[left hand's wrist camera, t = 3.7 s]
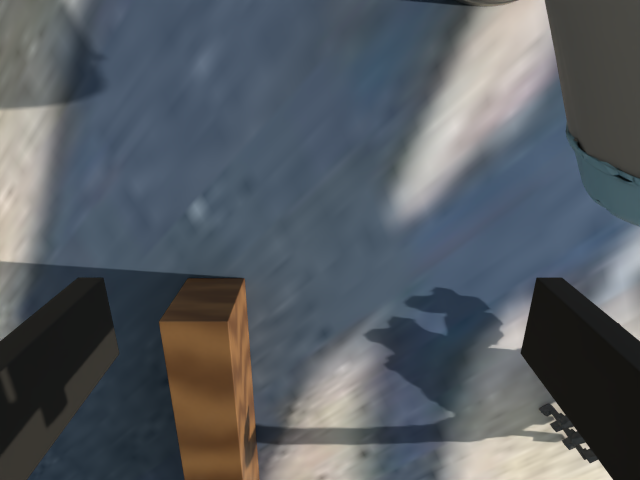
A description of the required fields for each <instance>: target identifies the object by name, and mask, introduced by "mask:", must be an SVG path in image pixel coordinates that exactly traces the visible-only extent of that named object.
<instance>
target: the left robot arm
mask: <svg viewBox="0 0 640 480" xmlns="http://www.w3.org/2000/svg"><path fill="white" fill-rule="evenodd" d="M455 1H457V2H460V3H464V4H467V5H473V6H484V7H487V6H498V5H504V4H508V3H512V2H515V1H517V0H455ZM545 4H546V9H547V14H548V19H549V24H550V29H551V35H552V40H553V45H554V50H555V55H556V61H557V67H558V72H559V78H560V84H561V90H562V95H563V101H564V107H565V112H566V118H567V123H566V137H567V139H568V142H569V144H570V146H571V147H572V149H573V150H574V151H575V155H576V159H577V163H578V167H579V171H580V175H581V179H582V182H583V185H584V187H585V189H586V191H587V193H588V194H589V195H590V197H591V198H592V199H593V200H594V201H595V202H596V203H598V204H599V205H601V206H603V207H604V208H606V209H607V210H608V211H609V212H610V213H611V214H612V215H614V216H616V217H618V218H620V219H622V220H624V221H626V222H629V223H631V224H634V225H637V226H640V0H545ZM118 355H119V350H118V345H117V340H116V335H115V331H114V326H113V321H112V316H111V312H110V307H109V302H108V297H107V292H106V288H105V283H104V278H77V279H76V280H75V281H73V282H72V283H71V284H70V285H69V286H67V287H66V288H65V289H64V290H62V291H61V292H60V293H59V294H58V295H56V296H55V297H54V298H53V299H51V300H50V301H49V302H48V303H47V304H45V305H44V306H43V307H42V308H40V309H39V310H38V311H37V312H36V313H34V314H33V315H32V316H31V317H29V318H28V319H27V320H26V321H25V322H23V323H22V324H21V325H20V326H18V327H17V328H16V329H15V330H14V331H12V332H11V333H10V334H9V335H7V336H6V337H5V338H4V339H2V340H1V341H0V480H27V479H28V477H29V476H30V475H31V473H32V472H33V471H34V469H35V468H36V466H37V465H38V464H39V462H40V461H41V460H42V458H43V457H44V456H45V454H46V453H47V451H48V450H49V449H50V447H51V446H52V445H53V443H54V442H55V441H56V439H57V438H58V436H59V435H60V434H61V432H62V431H63V430H64V428H65V427H66V426H67V424H68V423H69V421H70V420H71V419H72V417H73V416H74V415H75V413H76V412H77V411H78V409H79V408H80V406H81V405H82V404H83V402H84V401H85V400H86V398H87V397H88V396H89V394H90V393H91V391H92V390H93V389H94V387H95V386H96V385H97V383H98V382H99V381H100V379H101V378H102V376H103V375H104V374H105V372H106V371H107V370H108V368H109V367H110V366H111V364H112V363H113V361H114V360H115V359H116V357H117V356H118ZM521 355H522V356H523V357H524V359H525V360H526V361H527V363H528V364H529V366H530V367H531V368H532V370H533V371H534V372H535V374H536V375H537V376H538V378H539V379H540V381H541V382H542V383H543V385H544V386H545V387H546V389H547V390H548V391H549V393H550V394H551V396H552V397H553V398H554V400H555V401H556V402H557V404H558V405H559V406H560V408H561V409H562V411H563V412H564V413H565V415H566V416H567V417H568V419H569V420H570V421H571V423H572V424H573V426H574V427H575V428H576V430H577V431H578V432H579V434H580V435H581V436H582V438H583V439H584V441H585V442H586V443H587V445H588V446H589V447H590V449H591V450H592V451H593V453H594V454H595V456H596V457H597V458H598V460H599V461H600V462H601V464H602V465H603V466H604V468H605V469H606V471H607V472H608V473H609V475H610V476H611V477H612V479H613V480H640V341H639V340H638V339H636V338H635V337H634V336H633V335H631V334H630V333H629V332H628V331H626V330H625V329H624V328H623V327H622V326H620V325H619V324H618V323H617V322H615V321H614V320H613V319H612V318H611V317H609V316H608V315H607V314H606V313H604V312H603V311H602V310H601V309H600V308H598V307H597V306H596V305H595V304H593V303H592V302H591V301H590V300H589V299H587V298H586V297H585V296H584V295H582V294H581V293H580V292H579V291H578V290H576V289H575V288H574V287H573V286H571V285H570V284H569V283H568V282H567V281H565V280H564V279H563V278H536V283H535V288H534V292H533V297H532V302H531V307H530V312H529V316H528V321H527V326H526V331H525V335H524V340H523V345H522V350H521Z"/></svg>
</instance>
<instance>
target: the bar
mask: <svg viewBox="0 0 640 480" xmlns="http://www.w3.org/2000/svg"><path fill="white" fill-rule="evenodd" d="M159 326H160V332H161V338H162V344H163V350H164V356H165V362H166V369H167V375H168V381H169V387H170V393H171V399H172V405H173V412H174V418H175V424H176V430H177V436H178V442H179V448H180V454H181V461H182V467H183V473H184V479H185V480H259V469H258V455H257V441H256V428H255V414H254V400H253V387H252V373H251V359H250V346H249V332H248V318H247V305H246V291H245V279H244V278H188V279H187V280H186V282H185V283H184V285H183V286H182V288H181V289H180V291H179V292H178V294H177V295H176V297H175V298H174V300H173V301H172V303H171V304H170V306H169V307H168V309H167V310H166V312H165V313H164V315H163V316H162V318H161V319H160V321H159Z"/></svg>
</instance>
